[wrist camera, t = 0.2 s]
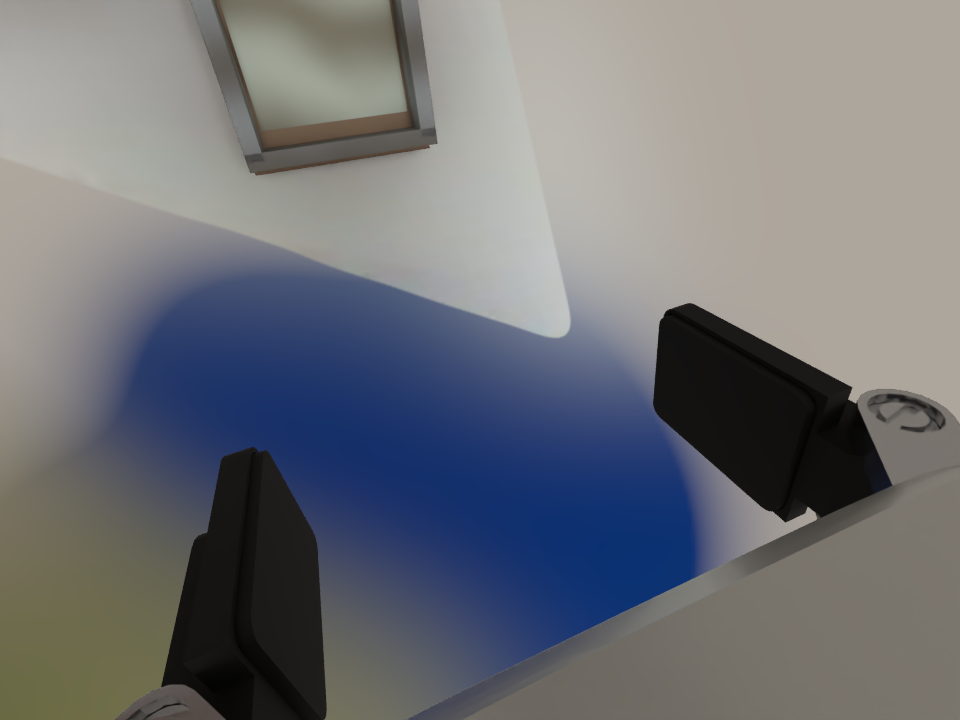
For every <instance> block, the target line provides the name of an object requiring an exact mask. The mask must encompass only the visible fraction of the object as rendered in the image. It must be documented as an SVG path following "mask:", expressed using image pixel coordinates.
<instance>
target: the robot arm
mask: <svg viewBox="0 0 960 720" xmlns="http://www.w3.org/2000/svg"><path fill="white" fill-rule="evenodd" d="M851 390H852V387H851V386H848V385H847V384H845V383H843V382H841V381H839V380H837V379H835V378H833V377H831V376H830V375H828V374H826V373H824V372H822V371H820V370H818V369H816V368H814V367H812V366H811V365H809V364H807V363H805V362H803V361H801V360H799V359H797V358H795V357H793V356H792V355H790V354H788V353H786V352H784V351H782V350H780V349H778V348H776V347H774V346H772V345H771V344H769V343H767V342H765V341H763V340H761V339H759V338H757V337H755V336H754V335H752V334H750V333H748V332H746V331H744V330H742V329H740V328H738V327H736V326H734V325H732V324H731V323H728V322H727V321H725V320H723V319H721V318H719V317H717V316H715V315H714V314H712V313H710V312H708V311H706V310H704V309H702V308H700V307H698V306H696V305H695V304H691V303H688V304H684V305H681V306H678V307H675V308H673V309H669V310H667V311H666V312H665V314H664V317H663V318H662V319H661V321H660V324H659V335H658V348H657V362H656V374H655V387H654V399H653V406H654V409H655V411H656V413H657V415H658V416H659V417H660V418H661V419H662V420H663V421H665V422H666V423H667V424H668V425H669V426H670V427H671V428H673V429H674V430H675V431H676V432H677V433H678V434H679V435H680V436H682V437H683V438H684V439H685V440H686V441H687V442H688V443H690V444H691V445H692V446H693V447H694V448H695V449H697V451H699V452H700V453H701V454H702V455H703V456H704V457H705V458H707V459H708V460H709V461H710V462H711V463H712V464H713V465H714V466H716V467H717V468H718V469H719V470H720V471H721V472H722V473H724V474H725V475H726V476H727V477H728V478H729V479H730V480H731V481H733V482H734V483H735V484H736V485H737V486H738V487H739V488H741V489H742V490H743V491H744V492H745V493H746V494H747V495H749V496H750V497H751V498H752V499H753V500H754V501H756V502H757V503H758V504H759V505H760V506H761V507H762V508H764V509H765V510H768V511H773V512H774V513H775V514H776V515H778V516H779V517H780V518H781V519H782V520H783V521H784V522H787V521H790V520H792V519H794V518H796V517H798V516H800V515H803V514H804V513H805V512H806V510H807V507H809V508H810V509H812V510H813V511H814V512H815V513H816V516H817V520H816V521H814V522H812V523H809V524H808V525H806V526H803V527H801V528H799V529H797V530H795V531H793V532H791V533H788V534H786V535H784V536H782V537H780V538H778V539H776V540H774V541H772V542H769V543H767V544H765V545H763V546H761V547H759V548H757V549H755V550H753V551H751V552H749V553H746V554H744V555H742V556H740V557H738V558H736V559H734V560H731V561H730V562H727V563H725V564H723V565H721V566H719V567H717V568H715V569H713V570H711V571H709V572H706V573H704V574H702V575H700V576H698V577H696V578H694V579H692V580H690V581H688V582H686V583H684V584H681V585H679V586H677V587H675V588H673V589H671V590H669V591H667V592H665V593H663V594H661V595H659V596H657V597H655V598H652V599H650V600H648V601H646V602H644V603H642V604H640V605H638V606H636V607H634V608H632V609H630V610H627V611H625V612H623V613H621V614H619V615H617V616H615V617H613V618H611V619H609V620H607V621H605V622H603V623H601V624H598V625H596V626H594V627H592V628H590V629H588V630H586V631H584V632H582V633H580V634H578V635H576V636H574V637H572V638H570V639H568V640H566V641H564V642H562V643H559V644H557V645H555V646H553V647H551V648H549V649H547V650H545V651H543V652H541V653H539V654H537V655H535V656H533V657H531V658H529V659H527V660H525V661H523V662H521V663H519V664H516V665H514V666H513V667H511V668H508V669H506V670H504V671H502V672H500V673H498V674H496V675H494V676H492V677H490V678H488V679H486V680H484V681H481V682H479V683H477V684H475V685H473V686H471V687H469V688H467V689H465V690H463V691H461V692H459V693H457V694H455V695H453V696H451V697H449V698H448V699H445V700H443V701H441V702H439V703H438V704H436V705H434V706H432V707H430V708H428V709H426V710H424V711H422V712H420V713H418V714H416V715H414V716H412V717H410V718H408V719H406V720H960V424H959V422H958V421H957V419H956V418H955V417H954V415H953V414H951V412H950V411H948V409H946V408H945V407H944V406H942V405H940V404H939V403H937V402H935V401H933V400H931V399H929V398H926V397H924V396H922V395H918V394H915V393H911V392H908V391H902V390H895V389H876V390H871V391H868V392H865V393H864V394H862V395H861V396H860V397H859V399H858V400H857V403H854V402H852V401H850V400H848V398H849V395H850V393H851ZM318 566H319V565H318V549H317V542H316V539H315V535H314V533H313V531H312V529H311V527H310V525H309V524H308V522H307V520H306V518H305V517H304V515H303V513H302V511H301V510H300V508H299V506H298V504H297V502H296V500H295V498H294V497H293V495H292V493H291V491H290V489H289V488H288V486H287V484H286V482H285V480H284V479H283V477H282V475H281V473H280V471H279V470H278V468H277V466H276V464H275V462H274V461H273V459H272V457H271V455H270V454H269V452H268V451H267V450H264V451H261V452H258V451H257V449H255V448H254V447H251V448H248V449H245V450H242V451H239V452H236V453H233V454H230V455H227V456H224V457H223V458H222V460H221V465H220V469H219V475H218V480H217V485H216V490H215V495H214V500H213V506H212V511H211V516H210V522H209V527H208V532H207V533H205V534H202V535H199V536H198V537H197V538H196V539H195V540H194V543H193V546H192V549H191V554H190V558H189V563H188V567H187V572H186V577H185V581H184V585H183V590H182V595H181V599H180V604H179V608H178V613H177V617H176V622H175V626H174V631H173V636H172V640H171V645H170V649H169V654H168V658H167V663H166V667H165V672H164V677H163V681H162V686H161V688H158V689H155V690H153V691H151V692H150V693H148V694H146V695H144V696H143V697H141V698H140V699H138V700H136V701H135V702H134V703H132V704H131V705H130V706H129V707H128V708H127V709H126V710H125V711H124V712H122V713H121V714H120V715H119V716H118V717H117V718H116V719H115V720H324V719H325V717H326V690H325V671H324V654H323V637H322V620H321V619H322V618H321V602H320V583H319V567H318Z"/></svg>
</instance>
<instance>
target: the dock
mask: <svg viewBox="0 0 960 720" xmlns="http://www.w3.org/2000/svg"><path fill="white" fill-rule="evenodd" d="M190 2H191V5H192V8H193V10H194V13H195V16H196V19H197V22H198V25H199V28H200V30H201V33H202V36H203V39H204V42H205V45H206V48H207V50H208V53H209V56H210V59H211V62H212V65H213V68H214V70H215V73H216V76H217V79H218V82H219V85H220V88H221V91H222V93H223V96H224V99H225V102H226V105H227V108H228V111H229V113H230V116H231V119H232V122H233V125H234V128H235V131H236V133H237V136H238V139H239V142H240V145H241V148H242V151H243V153H244V156H245V159H246V162H247V165H248V168H249V171H250V173H254V172H255V174H256V175H263V174H269V173H275V172H281V171H288V170H294V169H300V168H307V167H313V166H319V165H325V164H332V163H338V162H344V161H351V160H357V159H363V158H369V157H376V156H382V155H388V154H395V153H401V152H407V151H413V150H420V149H426V148H430V147H429V145H432V144H437V136H436V129H435V122H434V115H433V107H432V100H431V93H430V86H429V78H428V71H427V64H426V57H425V49H424V42H423V35H422V28H421V20H420V13H419V6H418V0H190Z"/></svg>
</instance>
